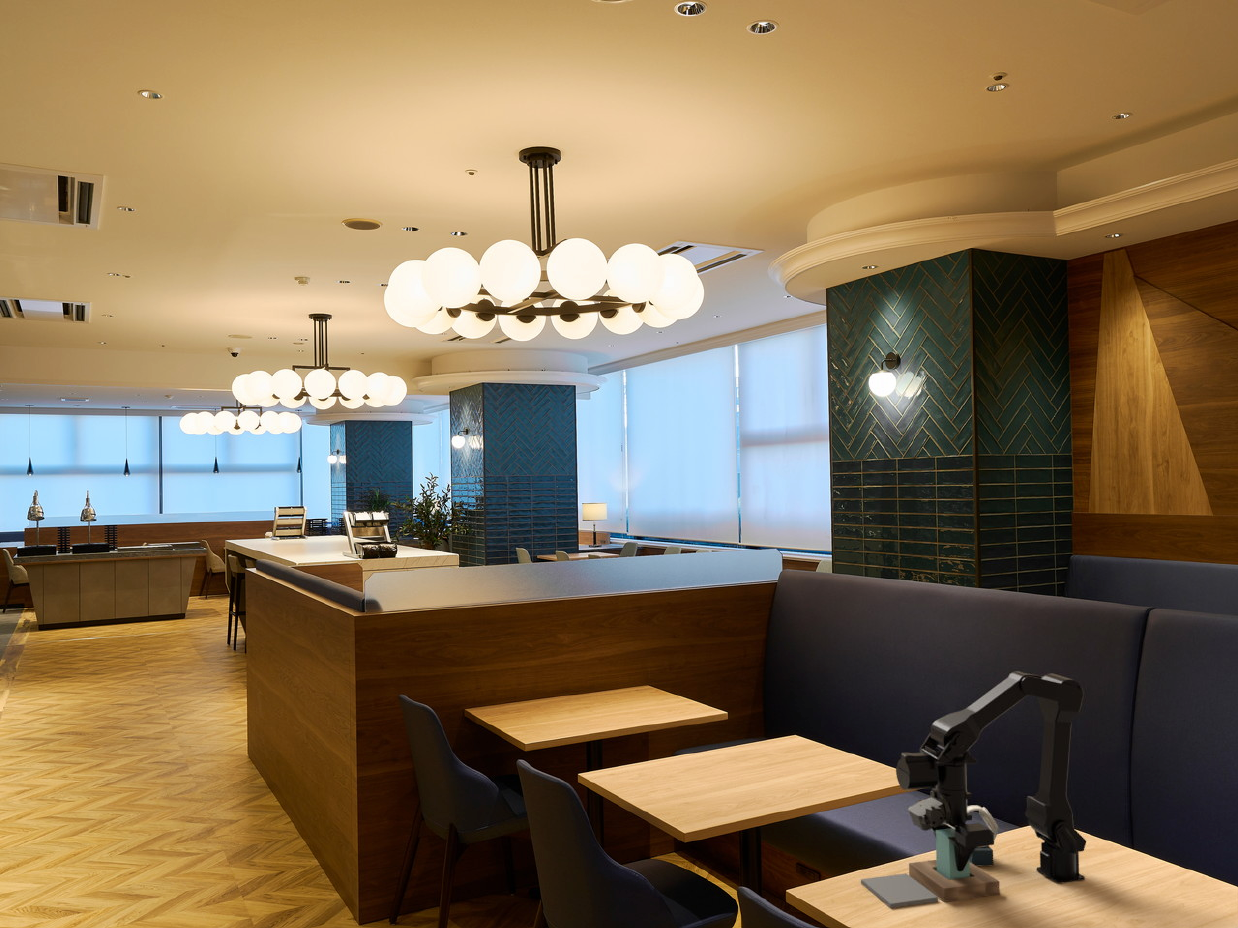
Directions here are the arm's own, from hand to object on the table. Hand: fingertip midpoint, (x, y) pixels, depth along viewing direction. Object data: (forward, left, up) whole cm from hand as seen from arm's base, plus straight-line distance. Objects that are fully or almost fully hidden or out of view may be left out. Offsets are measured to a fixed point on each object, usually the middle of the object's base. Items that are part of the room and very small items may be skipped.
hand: (952, 865), depth 180 cm
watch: (-12, -9, -4) cm, 15 cm away
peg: (0, 0, -4) cm, 4 cm away
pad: (+12, 0, -4) cm, 13 cm away
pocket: (0, 0, -4) cm, 4 cm away
